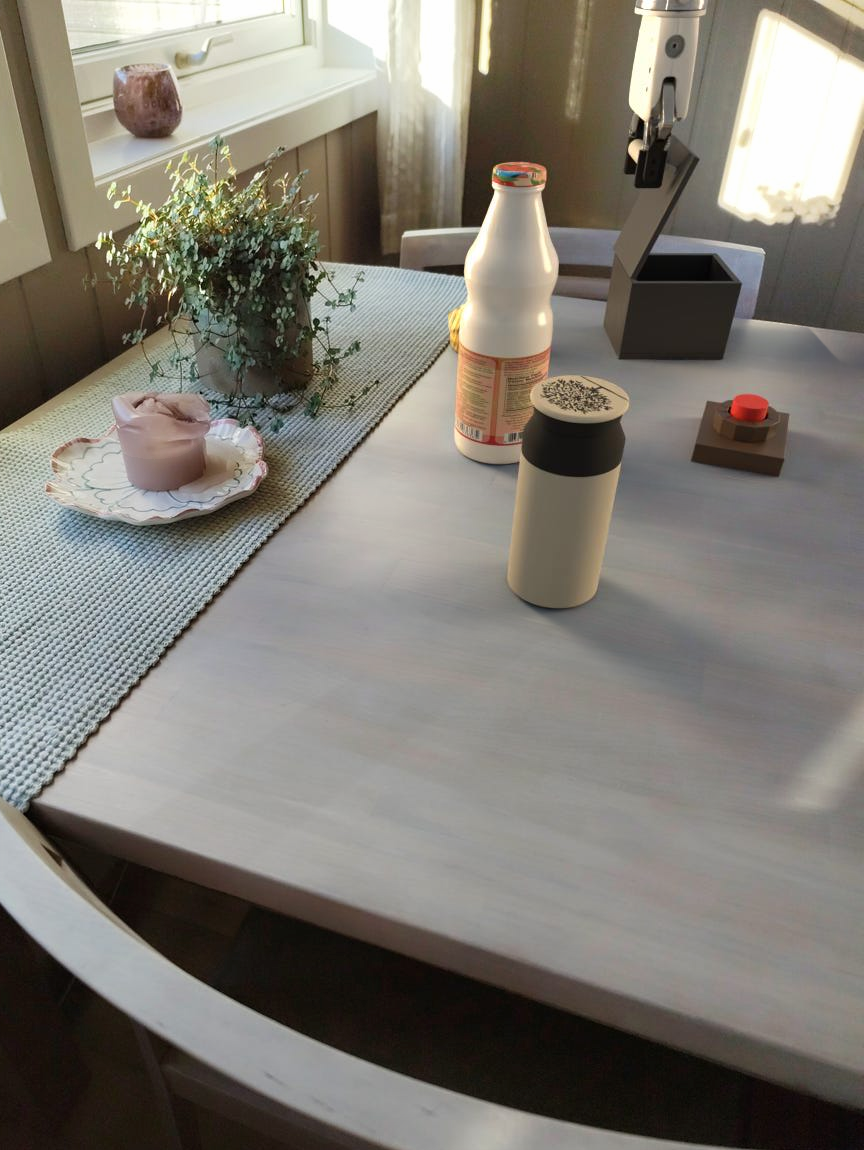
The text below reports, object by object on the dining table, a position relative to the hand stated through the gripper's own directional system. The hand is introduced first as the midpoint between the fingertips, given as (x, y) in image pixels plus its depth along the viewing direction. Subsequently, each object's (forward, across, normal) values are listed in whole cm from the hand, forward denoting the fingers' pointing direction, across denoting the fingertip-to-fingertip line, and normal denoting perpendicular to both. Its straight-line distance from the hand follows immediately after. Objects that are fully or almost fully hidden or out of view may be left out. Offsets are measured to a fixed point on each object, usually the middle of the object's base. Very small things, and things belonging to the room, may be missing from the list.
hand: (641, 179), depth 108 cm
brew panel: (+20, -29, -8) cm, 36 cm away
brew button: (+17, -29, -8) cm, 34 cm away
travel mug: (+20, -54, +16) cm, 60 cm away
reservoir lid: (+3, 0, -2) cm, 4 cm away
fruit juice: (+20, -29, +18) cm, 40 cm away
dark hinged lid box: (+20, 0, -6) cm, 21 cm away
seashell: (+20, -2, +18) cm, 28 cm away
